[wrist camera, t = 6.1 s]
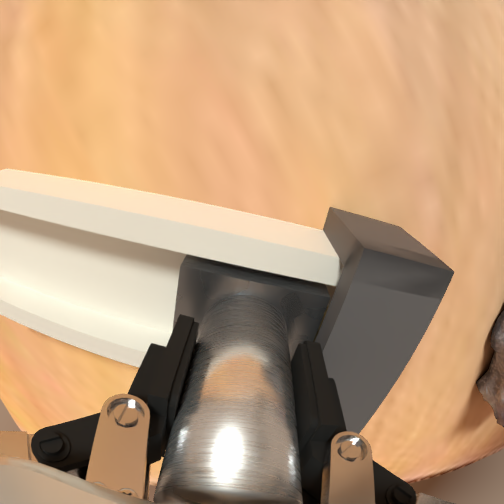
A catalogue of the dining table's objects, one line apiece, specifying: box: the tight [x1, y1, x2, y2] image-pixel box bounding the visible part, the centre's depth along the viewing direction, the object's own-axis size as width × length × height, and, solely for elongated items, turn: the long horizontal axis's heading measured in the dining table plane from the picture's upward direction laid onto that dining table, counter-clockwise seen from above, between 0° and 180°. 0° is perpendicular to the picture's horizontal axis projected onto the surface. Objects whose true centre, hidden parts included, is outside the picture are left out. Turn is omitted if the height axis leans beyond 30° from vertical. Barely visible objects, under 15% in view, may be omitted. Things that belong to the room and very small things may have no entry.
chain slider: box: [154, 254, 330, 504], centre depth 10 cm, size 10×5×10 cm, turn 77°
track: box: [0, 169, 454, 434], centre depth 14 cm, size 24×10×6 cm, turn 77°
